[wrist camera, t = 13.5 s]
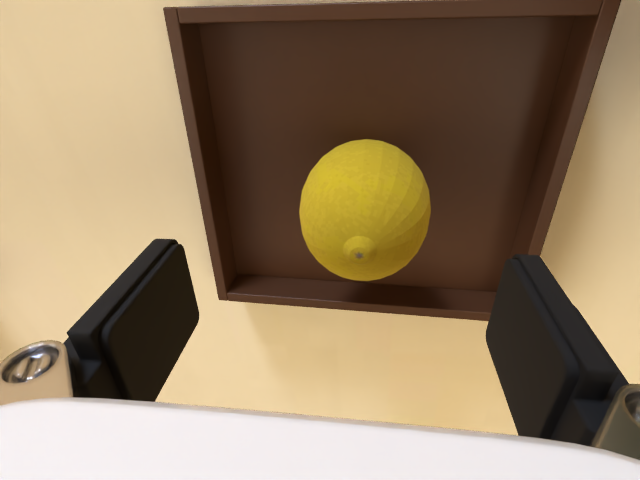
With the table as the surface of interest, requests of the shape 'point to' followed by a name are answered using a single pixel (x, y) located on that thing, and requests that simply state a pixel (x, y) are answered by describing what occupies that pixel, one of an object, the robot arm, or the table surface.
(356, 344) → the table surface
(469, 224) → the walnut tray
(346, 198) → the lemon
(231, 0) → the table surface
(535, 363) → the robot arm
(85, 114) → the table surface
